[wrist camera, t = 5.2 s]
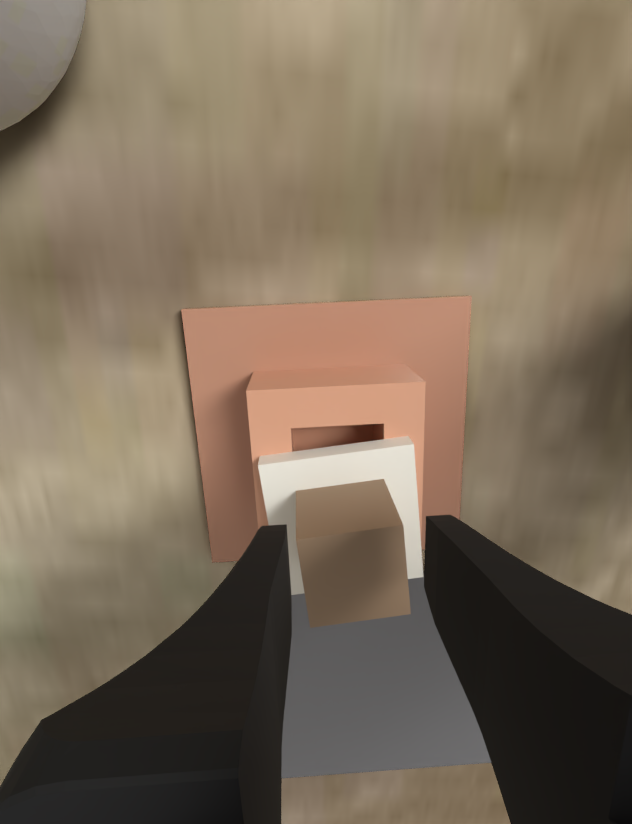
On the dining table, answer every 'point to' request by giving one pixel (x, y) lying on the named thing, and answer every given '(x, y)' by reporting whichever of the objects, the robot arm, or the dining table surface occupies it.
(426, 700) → the mat
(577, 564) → the dining table surface
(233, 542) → the salmon stepped square block
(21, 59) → the teacup
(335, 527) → the lid
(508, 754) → the robot arm
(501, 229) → the dining table surface
